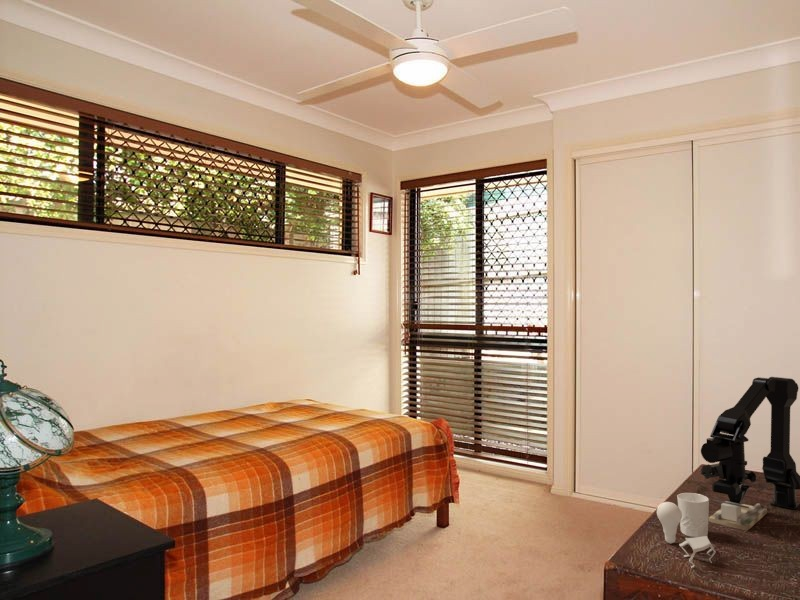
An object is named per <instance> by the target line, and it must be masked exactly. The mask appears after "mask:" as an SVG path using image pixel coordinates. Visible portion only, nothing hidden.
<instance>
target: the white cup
mask: <svg viewBox="0 0 800 600" xmlns="http://www.w3.org/2000/svg"><path fill="white" fill-rule="evenodd" d="M676 497H677V498H676V499H677V500H676V501H677V506H678V507H679V509H680V510H681V513H682V518H681V521H680V523H679V526H680V528H679V529H680V532H681V533H682V534H683V535H685V536H687V537H689V538H695V537H702V536H708V534H709V517H710V515H709V509H710V508H709V506H710V503H709V501H710V499H709V498H708V496H706V495H703V494H701V493H694V492H683V493H679V494H677V495H676Z"/></svg>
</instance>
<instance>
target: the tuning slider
mask: <svg viewBox="0 0 800 600" xmlns="http://www.w3.org/2000/svg"><path fill="white" fill-rule="evenodd" d="M713 502H718V503H721V504H720V509H721V518H723V519H727V520H731V521H735V522H737V520H738V519H739V518H740V517H741V507H744V508H749V507H747V506H743V505H741V504H742V503H741V504H738V503H733V502H730V500H729V501H727V500H725V501H723V500H718V499H713Z"/></svg>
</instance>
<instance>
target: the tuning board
mask: <svg viewBox="0 0 800 600" xmlns="http://www.w3.org/2000/svg"><path fill="white" fill-rule="evenodd" d="M741 505H743V506H747V507H749V508H744V507H741V517H740V518H739V519H738V520H737V522H735V521H731V520H727V519H723V518H721V508H719V509H718V510H717V511H715V512H714V513H713V514H711V515H709V519H708V523H712V524H718V525H721V526H725V527H729V528H734V529H738V530H742V531H746V532H747V531H749V530H750V529H751V528H752V527H753V526H754V525H755V524H757V523H758V522H759V521H761V519H762V518H763V517H765V516H766V515H767V514H768V509H767V508H766V507H765V508H764V507H761V503H755V504H754V505H751V504H744V503H741Z"/></svg>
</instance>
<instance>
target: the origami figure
mask: <svg viewBox="0 0 800 600" xmlns="http://www.w3.org/2000/svg"><path fill="white" fill-rule="evenodd" d="M678 545H679V546H680V548H681V549H682V550H683V552H685V555H683V557H684V558H687V557H690V558H688V559H689V560H688V562H689V563H690V564H692V565H691V566H690V567H691V568H690V569H693V568H694V567H696V565H695V563H694V562H693V561H692V560H693V558H694V556H695V554H696V553H698V552H702V551H705V550H706V549H708V548H710V549H709V550H708V551H706V555H708V556H709V559H708V560H709V562H710V563H711V564H712V563H713V562H712V558H713V557H714V555H716V553H717V552H716V551H717V550H715V547H714V545H713V544H712V543H711V541H710V539H709V537H708V535H707V536H702V537H685V540H684V541H683V542H680V543H679V544H678ZM687 545H689V546H690V547H691V549H692V551H693V552H692V554H691V556H690V554H689V553H688V552H687V550H686V549H685V548H684V547H685V546H687ZM712 551H713V552H712ZM711 552H712V554H710V553H711Z"/></svg>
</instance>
